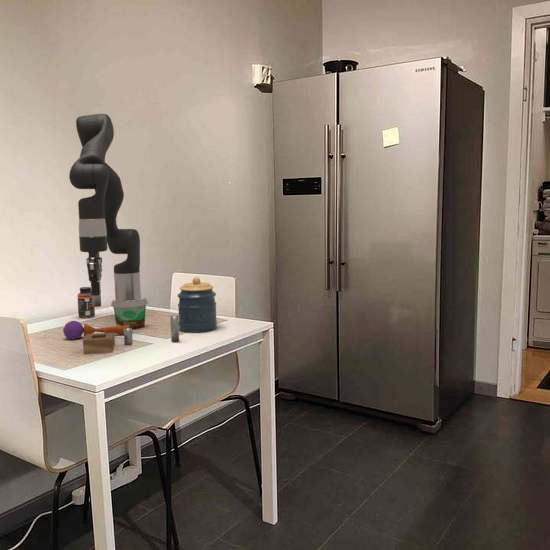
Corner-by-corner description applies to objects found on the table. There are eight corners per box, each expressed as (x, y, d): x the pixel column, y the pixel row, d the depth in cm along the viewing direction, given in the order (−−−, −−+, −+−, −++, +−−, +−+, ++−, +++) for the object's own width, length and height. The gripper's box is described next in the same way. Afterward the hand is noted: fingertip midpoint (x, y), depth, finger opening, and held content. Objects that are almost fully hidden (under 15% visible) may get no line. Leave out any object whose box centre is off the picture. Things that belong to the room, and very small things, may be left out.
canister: (182, 334, 179) (180, 280, 177) (175, 326, 191) (173, 275, 189) (221, 331, 183) (219, 278, 181) (212, 323, 195) (211, 273, 193)
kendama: (129, 325, 177) (62, 325, 171) (128, 342, 178) (62, 342, 173) (128, 318, 182) (64, 317, 177) (128, 334, 184) (64, 334, 178)
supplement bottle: (92, 318, 207) (90, 288, 205) (76, 318, 206) (74, 288, 205) (97, 315, 213) (95, 286, 211) (81, 315, 212) (79, 286, 211)
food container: (115, 332, 183) (113, 302, 182) (112, 328, 189) (110, 299, 188) (152, 328, 188) (150, 299, 187) (148, 324, 194) (147, 296, 193)
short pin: (124, 343, 168) (123, 327, 168) (132, 343, 169) (132, 327, 168) (124, 345, 166) (123, 329, 165) (132, 345, 166) (131, 329, 166)
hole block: (87, 347, 165) (86, 334, 164) (114, 345, 167) (114, 332, 166) (83, 354, 157) (82, 340, 157) (112, 352, 159) (111, 338, 158)
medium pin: (171, 340, 171) (170, 315, 170) (179, 340, 172) (178, 315, 170) (171, 342, 169) (170, 317, 168) (179, 342, 169) (178, 316, 168)
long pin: (93, 305, 161) (90, 265, 160) (101, 305, 162) (99, 264, 160) (92, 307, 159) (89, 265, 157) (100, 306, 159) (98, 265, 158)
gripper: (82, 233, 164) (85, 291, 166) (75, 236, 150) (79, 299, 152) (108, 233, 165) (111, 290, 167) (104, 235, 151) (107, 297, 154)
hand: (96, 294), depth 160 cm, fingers closed on long pin, 2 cm apart
